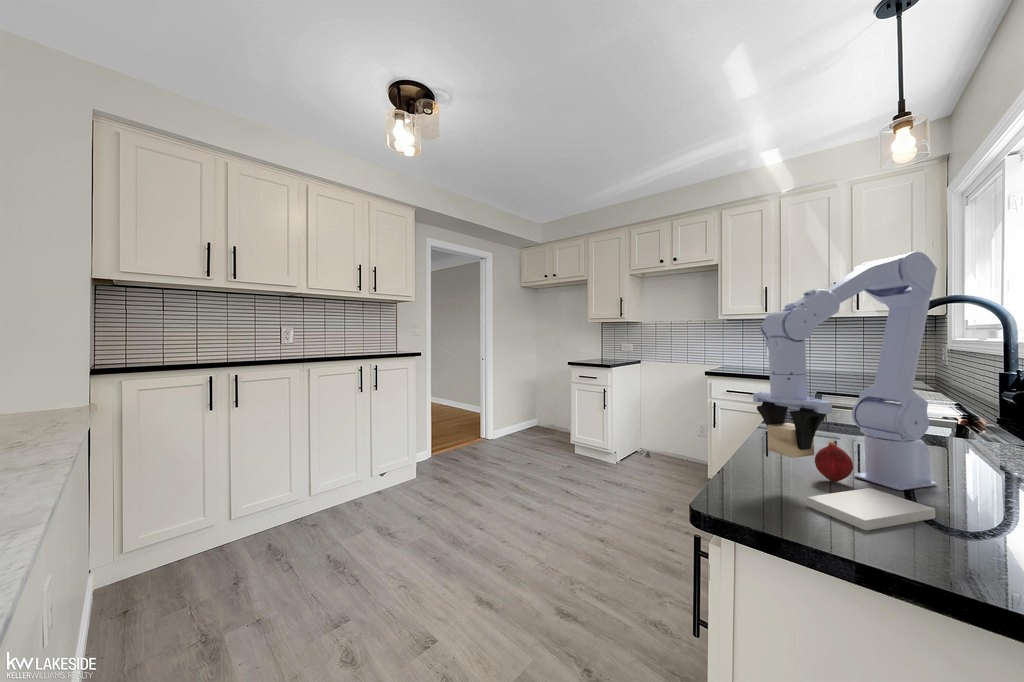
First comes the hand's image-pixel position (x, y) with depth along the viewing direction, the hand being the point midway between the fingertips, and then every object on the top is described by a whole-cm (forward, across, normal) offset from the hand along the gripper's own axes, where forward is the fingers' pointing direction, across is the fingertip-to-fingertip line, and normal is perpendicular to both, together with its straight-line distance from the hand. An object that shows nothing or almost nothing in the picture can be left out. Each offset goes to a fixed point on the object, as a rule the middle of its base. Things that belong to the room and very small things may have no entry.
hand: (790, 445), depth 73 cm
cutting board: (+8, +11, +3) cm, 14 cm away
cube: (+1, 0, 0) cm, 1 cm away
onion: (+9, -1, +11) cm, 14 cm away
